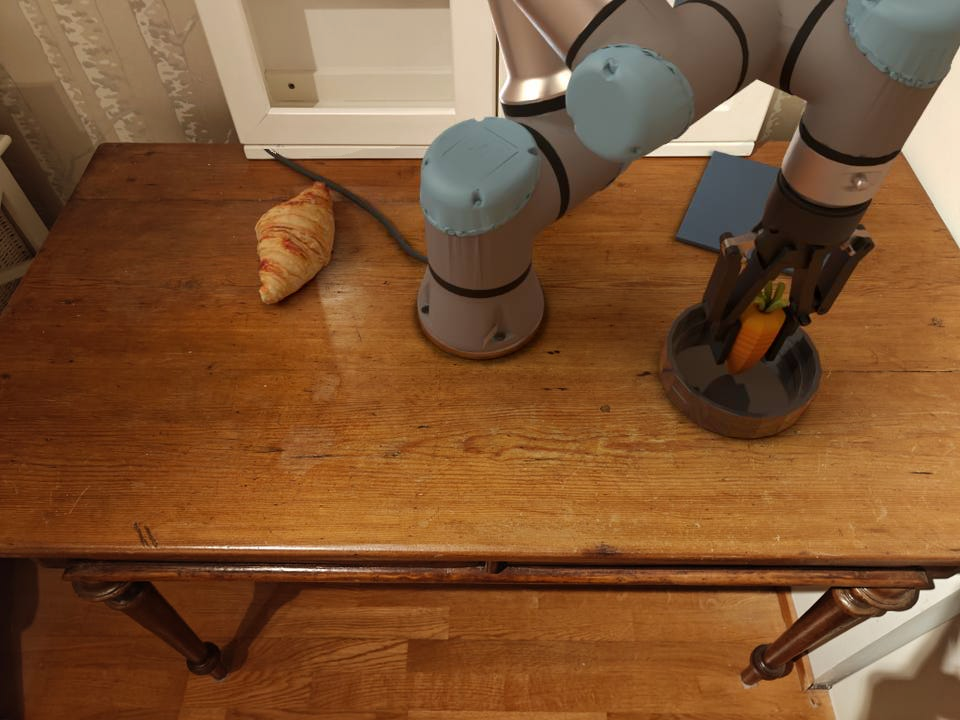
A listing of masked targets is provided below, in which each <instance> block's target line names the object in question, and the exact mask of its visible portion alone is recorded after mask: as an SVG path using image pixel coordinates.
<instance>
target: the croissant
mask: <svg viewBox="0 0 960 720" xmlns="http://www.w3.org/2000/svg"><path fill="white" fill-rule="evenodd" d="M333 205H334V198H333V196H332V194H331V193H330V189H329V187H328V186H327V184H326V183H325V182H318V181H315V182H313V184H312V185H311V187H309V188H306V189H304V190H303V191H301V192H300V193H299V194H298V195H297V196H294V197H292V198H291V199H289V200H287V201H281V202H280V203H279V204H277V205H275V206H273V207H272V208H270V209H269V210H267V212H266V213H265V212H264V214H263V215H262V216H261V217H260V219H259V220H258V221H257V222H256V224H255V227H254V231H255V234H256V238H257V241H258V243H257V246H256V254H257V256H259V260H260V266H259V269H258V276H259V278H260V281H259V282H260V283H261V284H262V285H261V286H260V288H259V290H258V292H259V293H260V297H261V300H262V302H263V303H265V304H266V305H271V304H276V303H278V302H279V301H281V300H284V298H286V297H287V296H288V297H289V296H290V295H291V294H294V293H295V292H297V291H299V289H301V288H302V287H303V286H304V285H305V284H306V283H308V282H309V281H310V280H312V279H314V277H315V276H316V274H317V273H319V271H320V270H321V269H322V268H323V266H327V265H328V264H329V263H330V262H331V258H332V252H333V246H334V241H335V233H336V224H335V213H334V210H333V207H334V206H333Z"/></svg>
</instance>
